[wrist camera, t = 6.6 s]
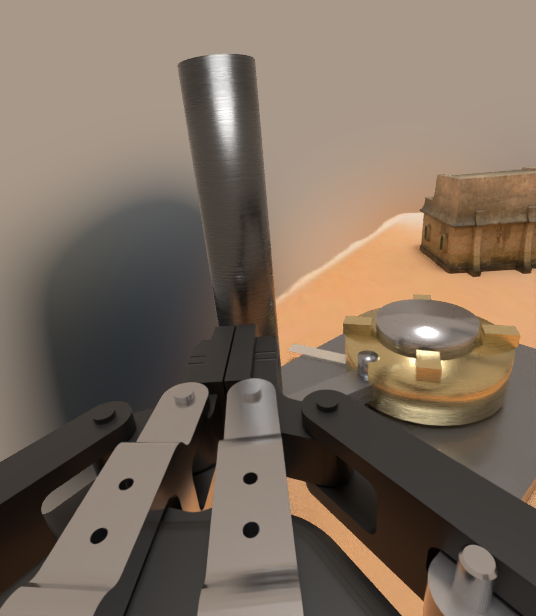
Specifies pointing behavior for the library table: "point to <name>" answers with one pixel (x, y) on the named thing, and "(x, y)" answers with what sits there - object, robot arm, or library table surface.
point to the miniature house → (482, 222)
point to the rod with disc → (358, 330)
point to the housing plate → (456, 438)
